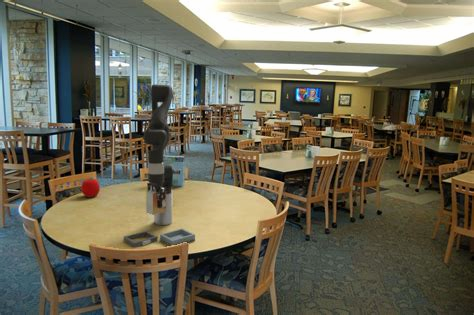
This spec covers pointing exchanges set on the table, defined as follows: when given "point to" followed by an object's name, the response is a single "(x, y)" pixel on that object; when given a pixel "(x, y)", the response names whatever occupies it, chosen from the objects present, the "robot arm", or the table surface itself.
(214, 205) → the table surface
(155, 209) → the small box
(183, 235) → the tray
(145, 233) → the clip holder
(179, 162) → the gum box
